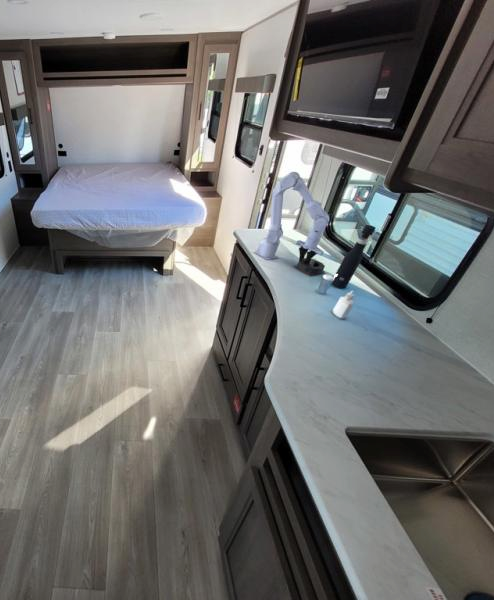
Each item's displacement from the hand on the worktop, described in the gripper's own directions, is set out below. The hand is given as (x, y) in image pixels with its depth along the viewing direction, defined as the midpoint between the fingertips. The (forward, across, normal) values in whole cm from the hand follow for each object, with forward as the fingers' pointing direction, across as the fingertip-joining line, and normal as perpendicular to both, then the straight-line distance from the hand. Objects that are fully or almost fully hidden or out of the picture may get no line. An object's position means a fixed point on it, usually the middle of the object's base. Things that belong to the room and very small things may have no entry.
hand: (303, 261), depth 163 cm
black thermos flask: (+3, +21, +1) cm, 21 cm away
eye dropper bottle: (+3, +38, -22) cm, 44 cm away
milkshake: (+3, +22, -13) cm, 26 cm away
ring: (+1, +5, 0) cm, 5 cm away
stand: (+3, +5, 0) cm, 5 cm away
